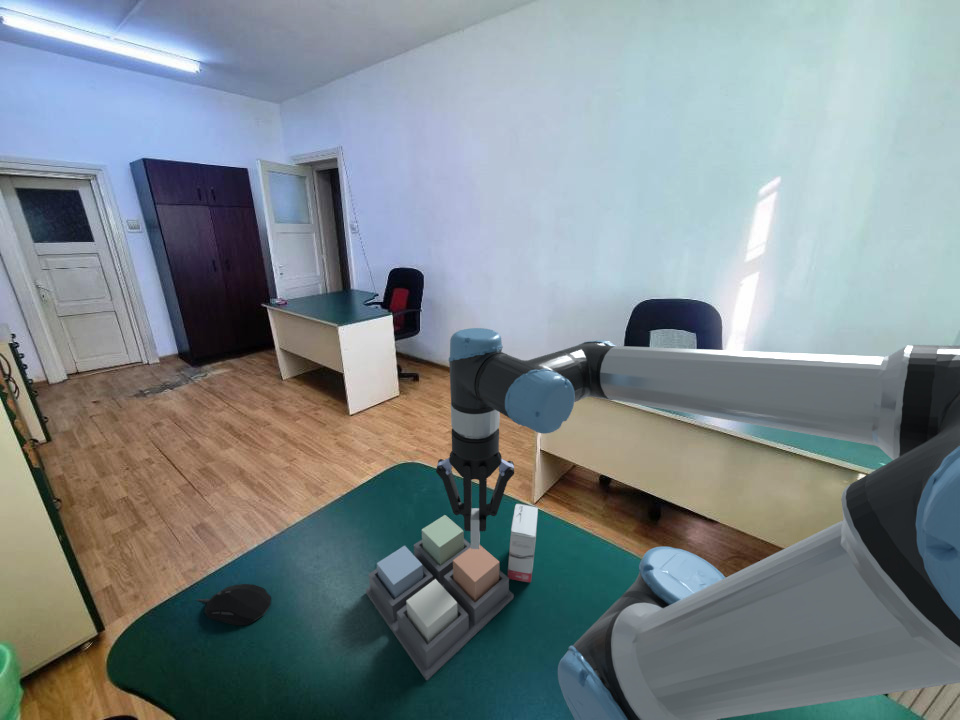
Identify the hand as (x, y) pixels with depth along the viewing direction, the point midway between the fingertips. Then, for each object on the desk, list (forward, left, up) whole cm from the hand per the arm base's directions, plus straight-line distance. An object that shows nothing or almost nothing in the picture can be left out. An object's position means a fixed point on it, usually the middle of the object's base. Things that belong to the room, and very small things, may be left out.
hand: (475, 542), depth 66 cm
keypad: (+5, +5, -13) cm, 15 cm away
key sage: (+10, 0, -9) cm, 13 cm away
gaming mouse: (+30, +34, -14) cm, 47 cm away
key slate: (+10, +10, -10) cm, 17 cm away
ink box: (-1, -12, -13) cm, 18 cm away
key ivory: (0, +10, -10) cm, 14 cm away
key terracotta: (0, 0, -9) cm, 9 cm away
